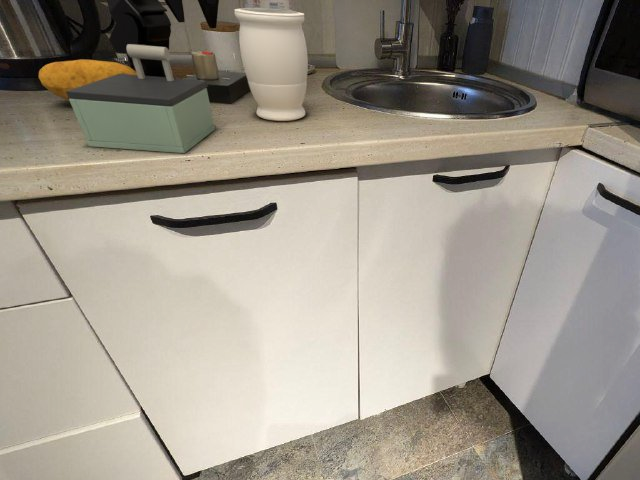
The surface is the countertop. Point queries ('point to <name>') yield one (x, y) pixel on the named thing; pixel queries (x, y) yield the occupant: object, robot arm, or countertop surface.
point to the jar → (274, 60)
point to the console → (226, 86)
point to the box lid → (141, 82)
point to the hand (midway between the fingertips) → (196, 25)
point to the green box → (145, 123)
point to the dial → (205, 65)
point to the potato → (78, 74)
